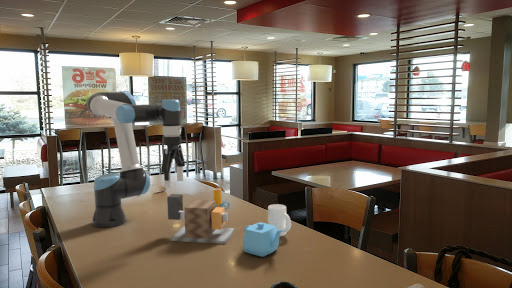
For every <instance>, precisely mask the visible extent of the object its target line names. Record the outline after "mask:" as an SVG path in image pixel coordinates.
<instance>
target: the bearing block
mask: <svg viewBox="0 0 512 288" xmlns="http://www.w3.org/2000/svg"><path fill="white" fill-rule="evenodd" d="M215 208H216V203H215V201H211V200H206V199H205V200H203V199H193V200H192V201H190V203H188V204H187V205H186V206H183V211H184V213H185V219H184V225H183V226H182V227H181V228H180V229H178V230H177V231H176V232H175V233H174V234H173V235H172V236H171V237H170V238H169V239H170V242H171V241H173V242H174V241H175V242H185V243H187V242H189V243H206V244H207V243H208V244H220V245H221V244H223V245H226V244H227V242H228V241H229V239H230V238H231V236H232V235H233V233H234V232H235V227H234V228H233V227H223V228H222V229H221V230H220V229H212V221H210V212H212V211H213V210H214V209H215Z"/></svg>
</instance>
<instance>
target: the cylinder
mask: <svg viewBox="0 0 512 288" xmlns="http://www.w3.org/2000/svg"><path fill="white" fill-rule="evenodd" d="M212 192H213V193H212V196H213V197H212V198H213V200H210V201H215V203H216V207H225V212H227V211H226V210H227V209H229V208H230V201H227V200H224V201H223V198H222V197H223V196H222V188H219V187H216V188H213V189H212ZM226 204H227V206H226Z"/></svg>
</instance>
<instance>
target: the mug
mask: <svg viewBox="0 0 512 288" xmlns="http://www.w3.org/2000/svg"><path fill="white" fill-rule="evenodd" d="M267 224H270V225H274V226H276V229H277V231H278V230H284V231H282V232H281V233H280V236H279V237H283V236H285V235H287V232H289V231H290V230H291V227H292V221H291V217H290V216H289V214H287V206H286V205H284V204H279V203H277V204H270V205H268V207H267Z"/></svg>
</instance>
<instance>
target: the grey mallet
mask: <svg viewBox="0 0 512 288" xmlns="http://www.w3.org/2000/svg"><path fill="white" fill-rule="evenodd" d="M183 197H184V196H183V193H181V194H179V193H171V194H169V195H168V196H167V198H166V199H167V200H166V201H167V219H168V220H171V221H176V220H177V221H180V220H185V213H184V201H183V199H184V198H183ZM228 220H229V212H227V211H225V212H224V213H223V214H222V221H225V222H228ZM210 221H212V219H211V212H210Z"/></svg>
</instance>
